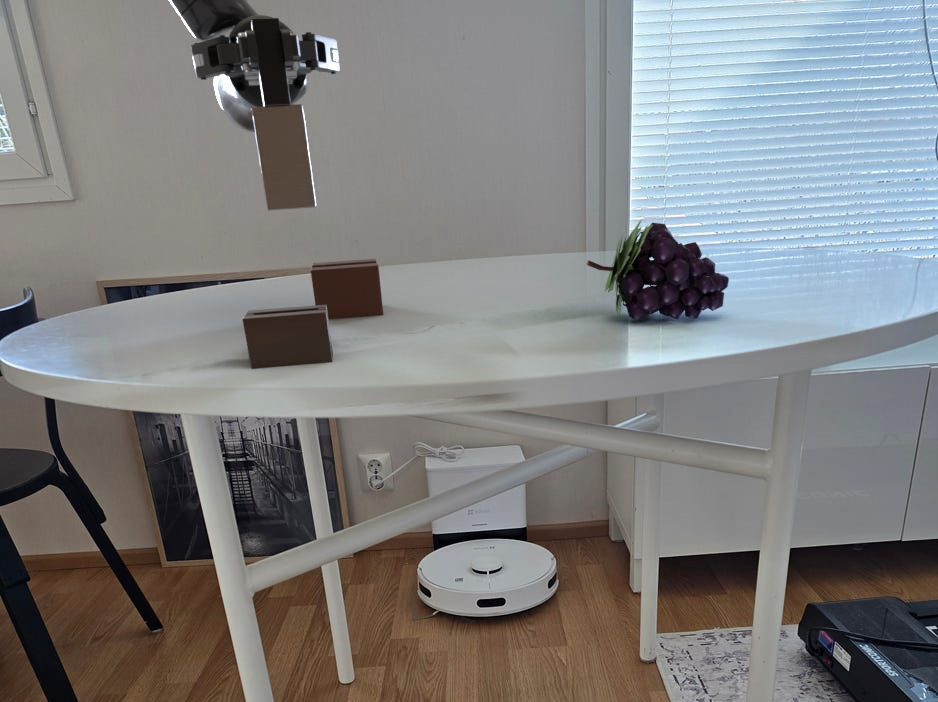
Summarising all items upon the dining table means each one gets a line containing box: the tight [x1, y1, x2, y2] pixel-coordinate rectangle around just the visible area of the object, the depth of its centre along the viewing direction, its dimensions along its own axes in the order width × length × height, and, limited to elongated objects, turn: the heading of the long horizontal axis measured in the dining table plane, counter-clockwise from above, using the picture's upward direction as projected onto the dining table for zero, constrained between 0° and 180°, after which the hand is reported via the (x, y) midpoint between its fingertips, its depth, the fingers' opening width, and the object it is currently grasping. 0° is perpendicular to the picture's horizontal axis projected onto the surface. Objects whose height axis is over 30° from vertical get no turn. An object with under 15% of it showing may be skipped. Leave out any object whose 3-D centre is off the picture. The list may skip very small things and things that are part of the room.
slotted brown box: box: [310, 258, 385, 321], centre depth 96 cm, size 8×8×7 cm
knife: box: [251, 17, 317, 211], centre depth 74 cm, size 3×4×14 cm
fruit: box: [586, 218, 730, 322], centre depth 90 cm, size 10×11×15 cm
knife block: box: [242, 304, 334, 370], centre depth 78 cm, size 5×7×5 cm
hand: (270, 45), depth 69 cm, fingers closed on knife, 2 cm apart
